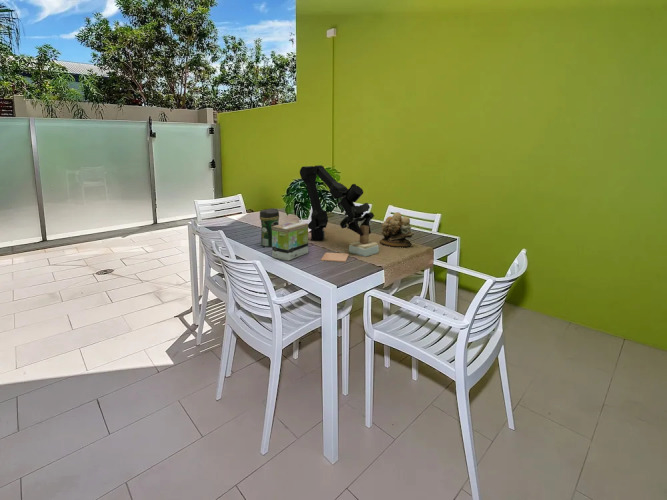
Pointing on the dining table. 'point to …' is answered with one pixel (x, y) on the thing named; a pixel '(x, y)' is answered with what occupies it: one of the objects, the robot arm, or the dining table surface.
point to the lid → (364, 239)
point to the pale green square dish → (364, 250)
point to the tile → (335, 257)
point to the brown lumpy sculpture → (396, 231)
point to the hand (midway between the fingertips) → (366, 234)
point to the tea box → (289, 240)
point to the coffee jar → (268, 225)
